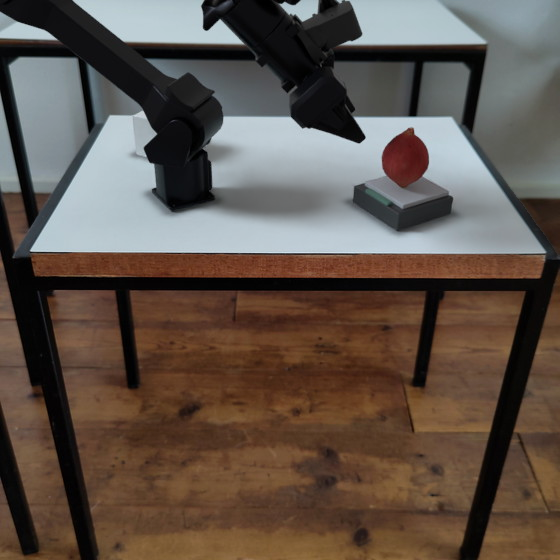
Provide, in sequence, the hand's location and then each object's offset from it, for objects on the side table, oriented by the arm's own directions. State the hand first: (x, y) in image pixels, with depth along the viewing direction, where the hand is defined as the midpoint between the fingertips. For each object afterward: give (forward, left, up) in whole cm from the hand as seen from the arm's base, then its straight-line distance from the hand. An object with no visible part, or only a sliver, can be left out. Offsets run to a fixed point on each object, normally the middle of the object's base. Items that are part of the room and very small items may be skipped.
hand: (357, 125), depth 84 cm
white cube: (-13, +29, -11) cm, 34 cm away
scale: (+6, -3, -11) cm, 13 cm away
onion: (+5, -3, -8) cm, 10 cm away
